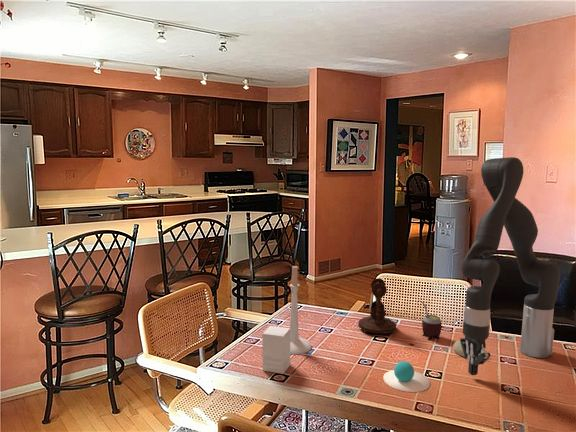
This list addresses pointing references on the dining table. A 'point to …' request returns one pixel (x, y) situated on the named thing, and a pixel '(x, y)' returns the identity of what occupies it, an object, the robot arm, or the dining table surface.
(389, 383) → the white disc
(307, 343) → the candlestick
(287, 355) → the supplement box
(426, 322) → the mate gourd
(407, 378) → the ball
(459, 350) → the sea urchin shell
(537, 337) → the robot arm
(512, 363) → the dining table surface
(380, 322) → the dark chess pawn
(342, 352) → the dining table surface
